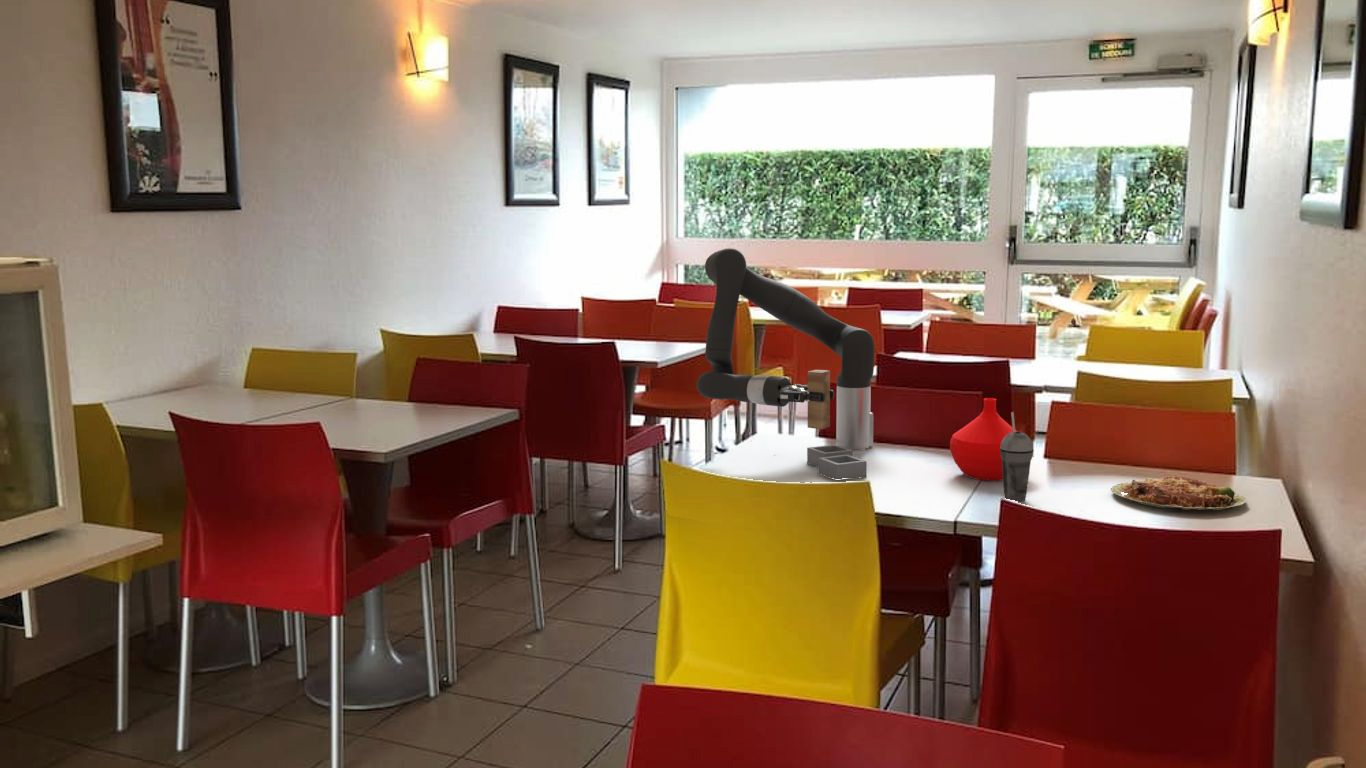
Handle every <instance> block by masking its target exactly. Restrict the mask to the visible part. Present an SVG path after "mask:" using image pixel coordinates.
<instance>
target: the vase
mask: <svg viewBox="0 0 1366 768" xmlns="http://www.w3.org/2000/svg"><path fill="white" fill-rule="evenodd" d="M1011 432H1013V427H1012V425H1010V424H1009V423H1008V422H1007V421H1006V420H1004V419H1003V418H1002V417H1001V416H1000V414H999V413H998V412H997V398H993V397H989V398H988V397H985V398H983V409H982V412H981V413H980V414H979V415H978V416H977V417H976V418H974V419H973V420H972V421H970V422H969V423H967V424H966V425H965V426H963V427H962V428H960V429H959V430H957V431H956V432H954V433H953V434H952V436H951V439H950V442H949V451H950V453H951V457H952V458H953V461H954V463H955V464H956V466H957V467H958V469H959V470H960V471H961V472H962V473H963V474H964V475H965V476H967V477H968V478H972V479H974V480H980V481H991V482H993V481H1003V471H1002V458H1001V453H1000V447H1001V442H1002V440H1003V438H1004V437H1005V436H1006V435H1007V434H1009V433H1011ZM1015 432H1019V431H1018V430H1016V429H1015Z"/></svg>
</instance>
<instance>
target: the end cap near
mask: <svg viewBox="0 0 1366 768" xmlns="http://www.w3.org/2000/svg"><path fill="white" fill-rule="evenodd" d="M867 463H868V462H867V460H864V459H862V458H859V457H856V456H854V455H853V456H850V455H840V456H831V457H823V458H819V467H818V471H817V472H818V473H819V475H820V474H822V475H821V476H823V475H825V476H824V477H826V476H827V477H826V478H828V477H830V478H829V479H831V478H834V479H842V478H856V479H860V478H859V477H863V478H867V473H868V472H867V470H868V468H867V467H868V466H867ZM835 481H836V482H838V481H841V480H835Z"/></svg>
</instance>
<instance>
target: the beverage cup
mask: <svg viewBox="0 0 1366 768" xmlns="http://www.w3.org/2000/svg"><path fill="white" fill-rule="evenodd" d="M1014 413H1015V412H1014V411H1012V412H1010V414H1011V415H1010V416H1011V427H1013V432H1011V433H1009V434H1007V435H1006V436H1005V437H1004V438H1003V440H1002V442H1001V447H1000V453H1001V458H1002V471H1003V480H1002V486H1003V496H1004V498H1006V499H1010V500H1015V501H1018V502H1022V503H1025V502H1026V497H1027V493H1028V485H1029V479H1030V478H1029V477H1030V469H1031V461H1032V458H1033V454H1034V445H1033V442H1032V439H1031V438H1030V437H1029V435H1027V434H1026V433H1024V432H1022V431H1018V432H1015V430H1016V426H1015V425H1016V424H1015V414H1014Z"/></svg>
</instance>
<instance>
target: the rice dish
mask: <svg viewBox="0 0 1366 768" xmlns="http://www.w3.org/2000/svg"><path fill="white" fill-rule="evenodd" d="M1110 491H1111V492H1112V494H1115V495H1117V496H1120V497H1122V498H1125V499H1128V500H1129V501H1132V502H1136V503H1138V504H1141V505H1146V506H1151V507H1156V508H1158V509H1161V508H1164V509H1165V508H1166V509H1169V508H1170V509H1171V508H1179V509H1181V510H1184V511H1187V510H1188V511H1189V510H1196V511H1200V510H1208V511H1223V510H1225V509H1230V508H1232V507H1238V506H1242V505H1244V504H1245V503H1247V500H1246V498H1245V497H1243V495H1240V494H1238V493H1236V492H1235V491H1234V490H1233V488H1232V487H1229V486H1221V487H1218V486H1217V485H1216V484H1208V483H1207V482H1206V481H1205V480H1203V481H1202V480H1198V479H1191V478H1189V477H1184V476H1182V477H1181V476H1177V475H1170V476H1169V475H1167V476H1165V477H1164V478H1163V477H1162V478H1153V477H1152V478H1151V477H1145V480H1136V479H1133V480H1132V481H1131V482H1124V483H1122V482H1121V483H1119V484H1118V483H1117V484H1116V485H1113V486H1112V487H1111V488H1110ZM1121 492H1124V493H1128V494H1127V495H1124V496H1122V494H1121Z"/></svg>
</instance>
